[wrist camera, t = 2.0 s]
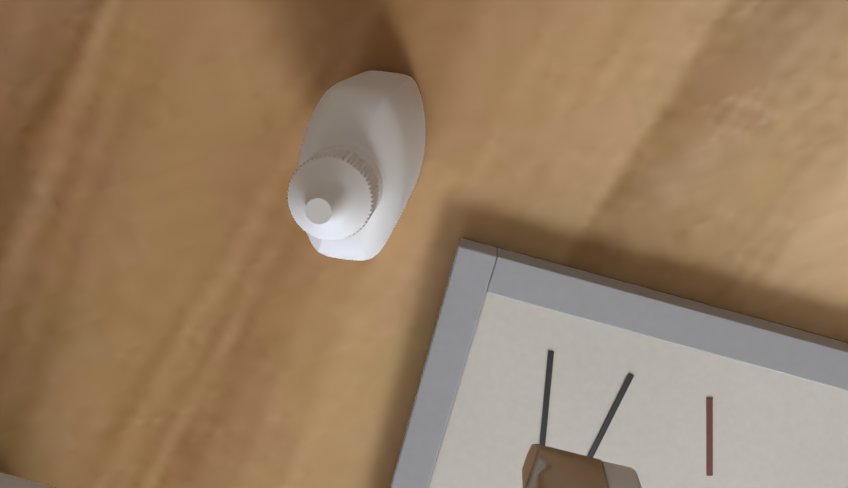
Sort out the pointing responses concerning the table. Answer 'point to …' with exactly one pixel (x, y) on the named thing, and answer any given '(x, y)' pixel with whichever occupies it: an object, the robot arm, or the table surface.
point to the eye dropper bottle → (359, 163)
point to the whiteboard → (618, 384)
